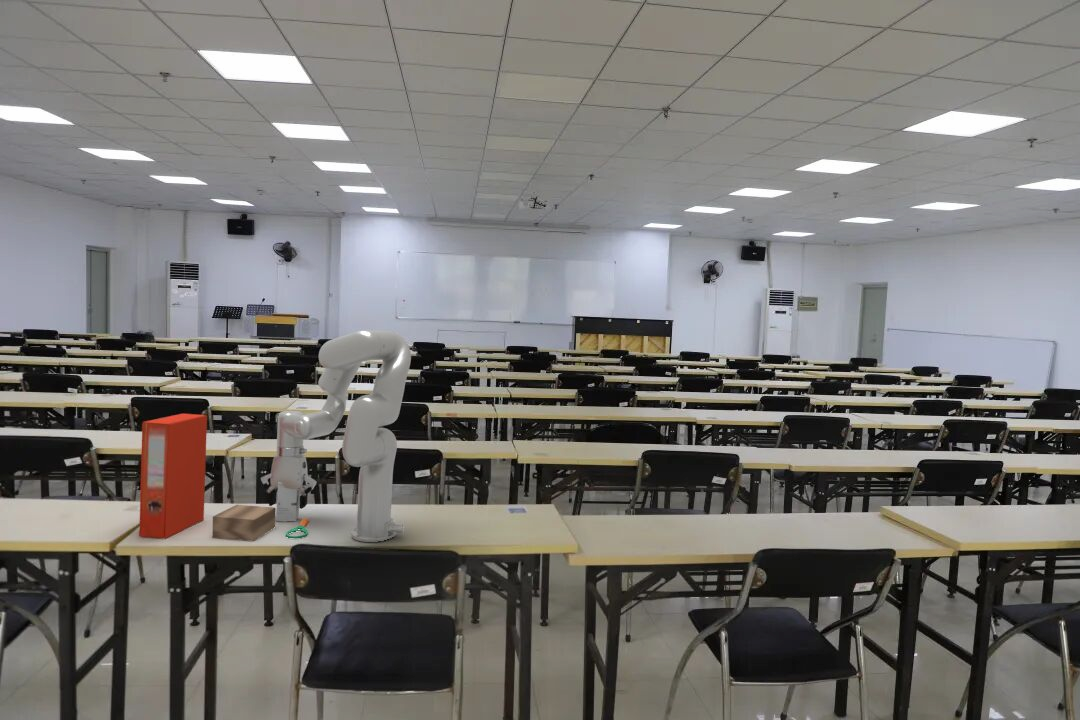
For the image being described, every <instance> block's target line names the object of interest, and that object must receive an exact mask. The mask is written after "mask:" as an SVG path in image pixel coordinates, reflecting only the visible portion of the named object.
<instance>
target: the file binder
mask: <svg viewBox="0 0 1080 720" xmlns="http://www.w3.org/2000/svg"><path fill="white" fill-rule="evenodd" d="M141 426H142V427H141V454H140V456H141V457H140V459H141V461H140V489H139V490H140V492H139V493H140V495H139V496H140V497H139V529H138V530H139V531H138V533H139V534H138V536H139V537H140V538H147V537H154V538H153V539H159V538H165V539H164V540H166V538H167V539H168V537H169V538H170V536H171V537H172V535H173V536H175V535H177V534H178V533H180V532H182V531H184V529H185V530H186V528H187V529H188V527H189V528H190V526H191V525H193V524H195V523H197V522H199V521H201V520H203V521H204V519H205V518H204V517H205V490H206V489H205V487H206V485H205V484H206V461H207V460H206V458H207V457H206V456H207V434H208V432H207V430H208V415H206V414H197V413H195V414H192V413H179V414H175V415H170V416H165V417H159V418H156V419H151V420H146V421H143V422H142V425H141ZM201 522H202V521H201ZM199 523H200V522H199ZM197 524H198V523H197ZM195 525H196V524H195ZM193 526H194V525H193ZM191 527H192V526H191Z"/></svg>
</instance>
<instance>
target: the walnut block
mask: <svg viewBox="0 0 1080 720" xmlns="http://www.w3.org/2000/svg"><path fill="white" fill-rule="evenodd" d="M276 508H277V507H272V506H258V505H248V504H247V505H245V504H235V505H232V506H231V507H229V508H228V509H225V510H223V511H221V512H219V513H217V514H215V515H213V516H212V534H211V536H212V539H225V540H235V539H242V540H241V541H247V540H254V541H256V540H258V539H259V538H261V537H262V536H263V535H265V533H266V534H267V533H269V532H270V531H272V530H274V529H275V528H276ZM274 527H275V528H274ZM273 528H274V529H273ZM271 529H272V530H271ZM268 531H269V532H268ZM260 536H261V537H260ZM258 537H259V538H258ZM257 538H258V539H257ZM255 539H256V540H255Z"/></svg>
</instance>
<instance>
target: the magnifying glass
mask: <svg viewBox="0 0 1080 720" xmlns="http://www.w3.org/2000/svg"><path fill="white" fill-rule="evenodd" d="M308 524H309V518H302V519H301V521H300V523H299V525H297V526H295V527H292V528H291V529H289V530H287V531H285V538H286V537H288V538H287V539H289V538H301V539H303V538H302V537H304V538H306V537H308V536H309V531H308V529H307V528H306V527H307V525H308ZM305 526H306V527H305ZM298 529H300V530H298ZM296 531H301V532H304V533H303V534H301V535H291V534H292V533H291V532H296ZM289 533H291V534H289ZM288 534H289V535H288ZM307 535H308V536H307Z"/></svg>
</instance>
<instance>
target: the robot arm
mask: <svg viewBox="0 0 1080 720" xmlns="http://www.w3.org/2000/svg"><path fill="white" fill-rule="evenodd" d="M318 360H319V361H318V362H319V364H320V365H321V366H322V367H323V368H324V369H323V372H322V374H321V375H320V377H319V379H318V387H320V389H321V390H322V391H323V392H324V393H326V394H327V398H326V401H325V403H324V404H323V406H322V408H321V410H320V411H315V412H310V413H303V412H302V411H298V410H283V411H281V412H279V414H278V416H277V432H276V433H277V434H276V435H277V436H276V454H275V455H274V457H273V459H272V464H271V470H270V473H268V474H266V475H264V476H261V477H260V481H261V482H262V484H263V485H262V486H263V488H264V489H265V490H266V493H268V498H267V500H268V507H272V506H274V505H275V504H276V505H277V490H276V489H278V482H279V483H282V484H283V486H284V487H285V488H289V489H298V490H299V492H300V502H299V510H301V509H304V508H305V507H306V506H307V505H308V495H309V493H311V492H312V491H313V490H314V488H315V486H316V485H317V481H316V480H315V479H314V478H312V477H310V476H308V475H309V474H308V463H307V458H306V455H304V454H307V452H308V449H307V448H304V447H305V446H304V440H311V439H316V438H319V437H325V436H328V435H330V434H331V433H333V432H334V431H335V430H336V429H337V427H338V425H339V424H340V422H341V421H342V418H343V416H344V415H345V412H346V408H347V407H346V406H347V397H346V393H347V391H348V389H349V387H350V386H351V383H352V381H353V379H355V376H356V374H357V373H358V371H359V369H360V367H361V366H362V363H363V362H368V361H380V360H381V361H382V363H381V364H382V365H380V367H379V369H378V371H377V372H376V376H375V378H374V385H373V388H372V392H371V393H370V394H365V395H361V396H360V397H357V398H356V399H355V400H354V401H353V403H352V404H351V406H350V408H349V411H348V413H347V414H348V415H347V420H346V425H345V430H344V434H343V440H342V446H341V448H342V449H341V450H342V451H341V452H342V455H343V459H344V460H345V461H346V463H347V464H348V465H350V466H351V467H356V468H359V467H360V469H359V475H358V491H357V492H358V494H357V514H356V515H357V516H356V517H357V519H356V528H353V529H352V530H351V533H350V537H351V538H352V539H353V540H355V541H358V542H364V543H379V542H378V541H381V542H385V541H384V540H386V541H388V540H387V539H389V540H391V539H393V538H394V537H396V535H397V534H398V533H400V534H404V533H405V525H404V524H401V523H395V519H394V518H392V497H393V495H392V494H393V493H392V491H393V476H394V475H393V474H394V465H395V459H396V454H397V450H398V449H397V448H398V441H397V439H396V438H397V437H396V436H395V433H394V432H392V431H391V429H388V428H385V427H384V426H388V425H391V424H393V423H395V421H397V420H398V417H399V415H400V411H401V406H402V401H403V397H404V393H405V387H406V386H405V385H406V381H407V377H408V374H409V370H410V366H411V360H412V353H411V348H410V346H409V344H408V342H407V341H406V340H405V338H404V337H403V336H402V335H401V334H399V333H397V332H396V331H391V330H387V329H385V330H384V329H380V330H379V329H376V330H375V329H374V330H373V329H369V330H367V329H366V330H365V329H364V330H358V331H354V332H351V333H349V334H346V335H343V336H339V337H336V338H333V339H330V340H328V341H326V342H325V343H323V345H322V346H321V347H320V349H319V352H318ZM269 479H270V481H268V480H269ZM308 484H309V486H308V487H307V485H308ZM396 533H397V534H396ZM392 537H393V538H392ZM390 538H391V539H390Z"/></svg>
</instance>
